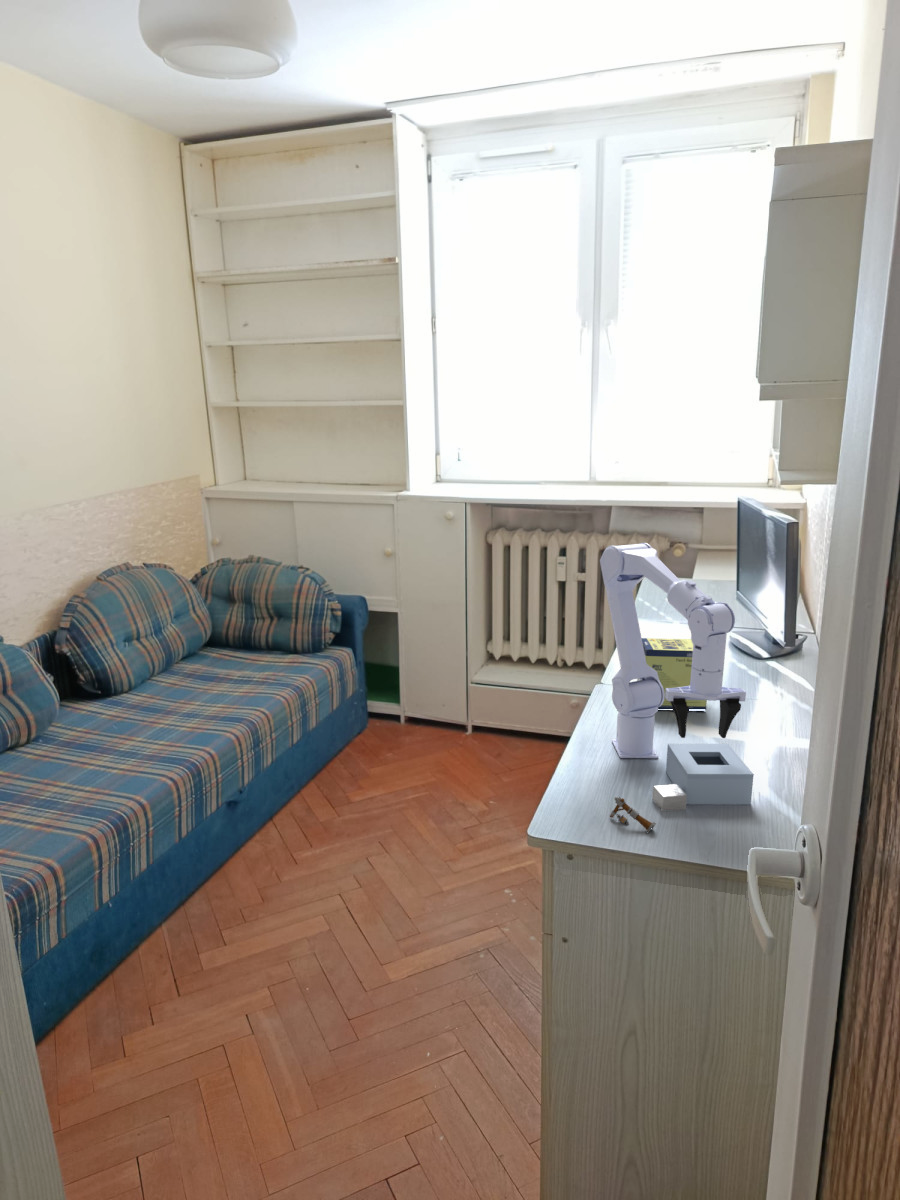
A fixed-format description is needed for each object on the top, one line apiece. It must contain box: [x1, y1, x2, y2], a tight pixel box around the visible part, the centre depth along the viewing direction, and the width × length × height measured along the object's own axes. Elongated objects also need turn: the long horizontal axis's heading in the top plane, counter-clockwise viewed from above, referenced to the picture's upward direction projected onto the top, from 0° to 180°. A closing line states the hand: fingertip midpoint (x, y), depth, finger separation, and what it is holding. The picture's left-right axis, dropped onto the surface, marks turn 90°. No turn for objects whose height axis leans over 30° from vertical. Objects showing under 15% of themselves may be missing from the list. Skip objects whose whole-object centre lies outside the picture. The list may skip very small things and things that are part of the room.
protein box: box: [636, 637, 708, 710], centre depth 200 cm, size 10×16×16 cm
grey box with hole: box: [665, 743, 755, 806], centre depth 156 cm, size 14×12×6 cm
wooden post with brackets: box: [609, 796, 657, 833], centre depth 142 cm, size 2×8×4 cm, turn 52°
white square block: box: [652, 783, 687, 811], centre depth 149 cm, size 4×4×3 cm
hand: (701, 735), depth 155 cm, fingers open, 7 cm apart
